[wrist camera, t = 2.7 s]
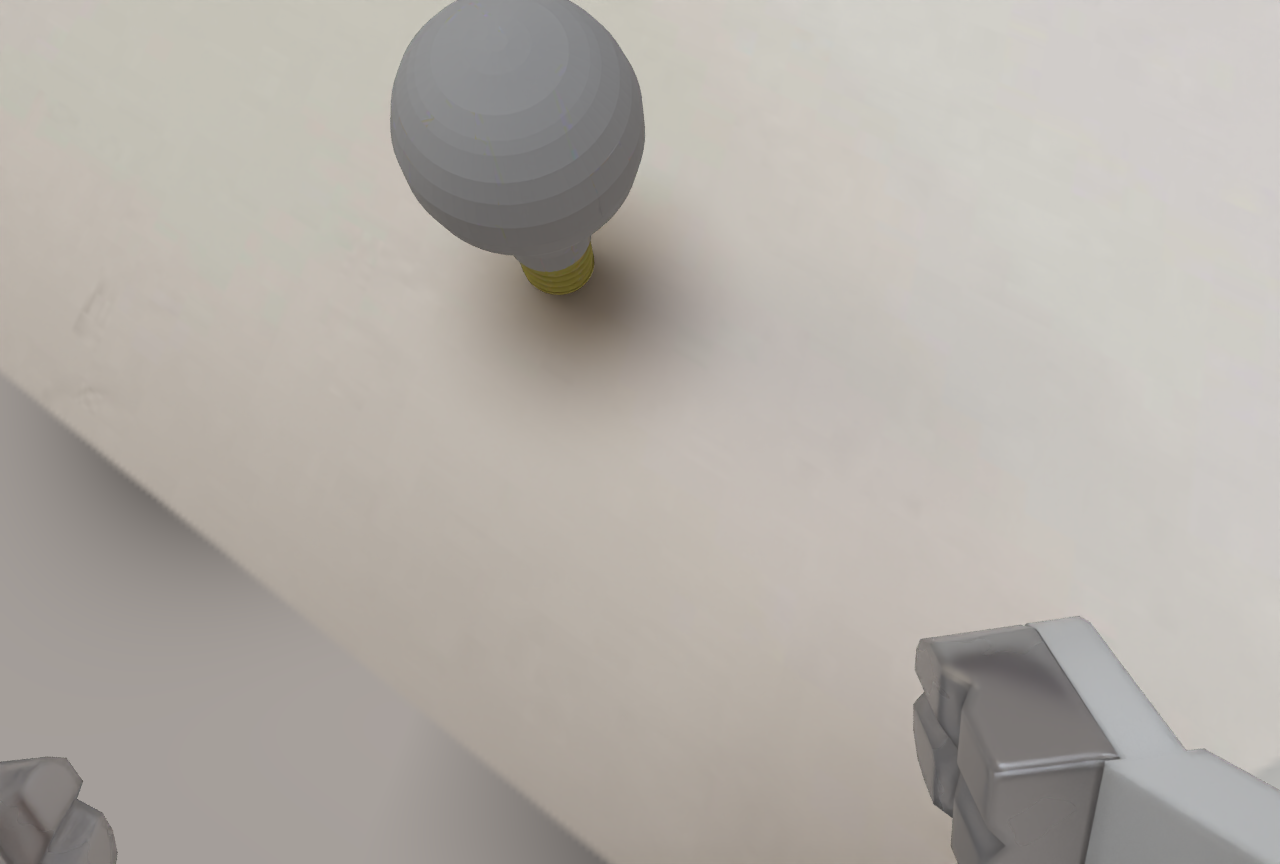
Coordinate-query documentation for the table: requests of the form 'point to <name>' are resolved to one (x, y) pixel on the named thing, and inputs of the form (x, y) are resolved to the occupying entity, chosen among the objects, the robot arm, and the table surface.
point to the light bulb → (519, 131)
